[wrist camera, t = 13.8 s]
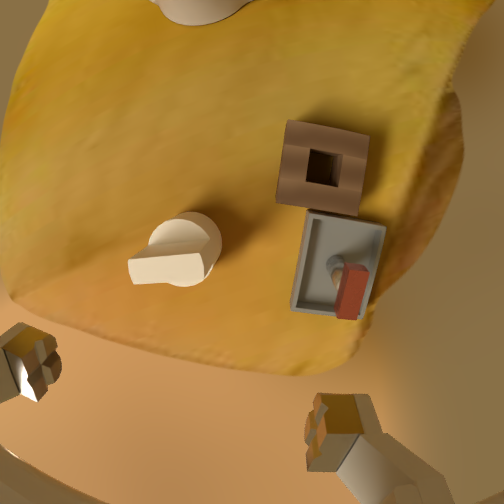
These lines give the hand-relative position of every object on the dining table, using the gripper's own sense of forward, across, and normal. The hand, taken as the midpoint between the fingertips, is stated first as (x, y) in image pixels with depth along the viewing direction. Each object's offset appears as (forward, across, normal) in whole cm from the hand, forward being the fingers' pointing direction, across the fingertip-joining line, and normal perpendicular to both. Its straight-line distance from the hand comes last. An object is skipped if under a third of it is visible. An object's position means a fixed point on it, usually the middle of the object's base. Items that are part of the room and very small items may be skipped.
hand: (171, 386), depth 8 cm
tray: (+35, -13, +6) cm, 38 cm away
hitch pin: (+34, -13, +6) cm, 37 cm away
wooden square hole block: (+35, -8, -7) cm, 37 cm away
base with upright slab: (+35, +8, +6) cm, 37 cm away
